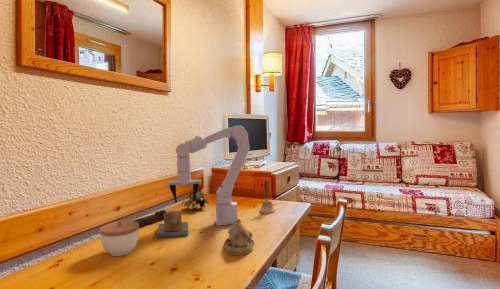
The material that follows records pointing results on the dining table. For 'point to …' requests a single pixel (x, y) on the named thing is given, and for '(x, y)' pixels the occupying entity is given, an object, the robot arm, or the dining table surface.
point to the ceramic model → (238, 239)
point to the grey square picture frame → (172, 231)
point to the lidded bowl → (119, 237)
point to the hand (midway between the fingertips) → (185, 201)
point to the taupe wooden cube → (172, 219)
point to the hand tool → (151, 218)
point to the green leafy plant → (198, 199)
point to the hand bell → (267, 201)
